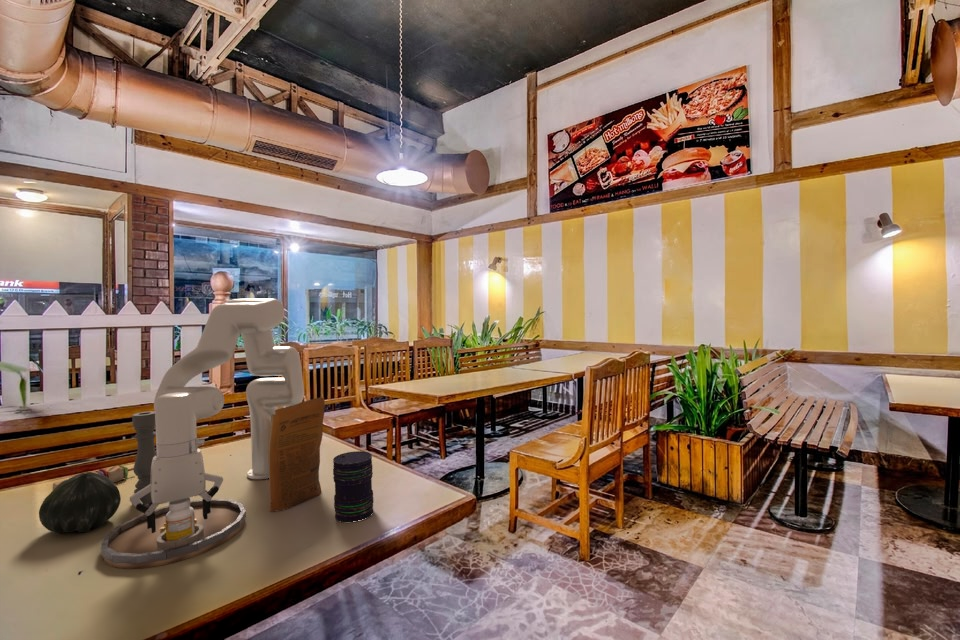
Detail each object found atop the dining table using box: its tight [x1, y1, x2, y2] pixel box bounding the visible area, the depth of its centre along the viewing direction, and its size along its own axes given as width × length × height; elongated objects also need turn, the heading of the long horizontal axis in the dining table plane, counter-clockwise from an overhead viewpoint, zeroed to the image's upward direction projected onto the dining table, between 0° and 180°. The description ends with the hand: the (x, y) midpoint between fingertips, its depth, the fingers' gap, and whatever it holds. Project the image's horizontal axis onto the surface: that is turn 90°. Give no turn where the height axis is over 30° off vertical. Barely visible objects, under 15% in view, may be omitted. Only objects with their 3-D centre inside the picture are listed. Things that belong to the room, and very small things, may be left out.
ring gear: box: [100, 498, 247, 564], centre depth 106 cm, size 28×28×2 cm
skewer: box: [52, 464, 134, 491], centre depth 139 cm, size 21×6×5 cm, turn 150°
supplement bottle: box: [166, 497, 195, 541], centre depth 99 cm, size 5×5×10 cm
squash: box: [38, 471, 122, 534], centre depth 111 cm, size 14×15×15 cm
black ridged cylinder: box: [332, 450, 375, 523], centre depth 114 cm, size 10×10×15 cm
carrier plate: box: [102, 506, 246, 570], centre depth 106 cm, size 28×28×4 cm
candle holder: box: [131, 410, 157, 505], centre depth 127 cm, size 6×6×25 cm
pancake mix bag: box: [268, 396, 326, 512], centre depth 123 cm, size 7×19×28 cm, turn 148°
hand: (180, 523), depth 99 cm, fingers open, 9 cm apart
